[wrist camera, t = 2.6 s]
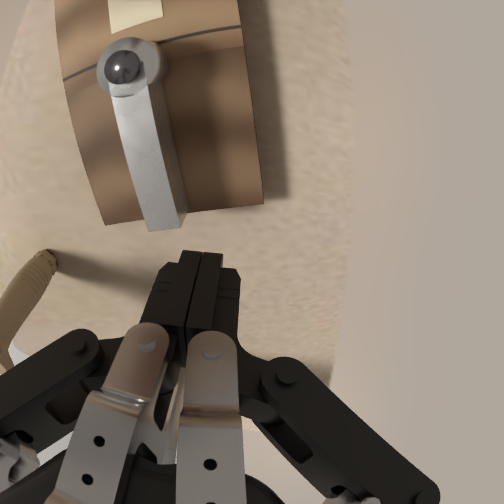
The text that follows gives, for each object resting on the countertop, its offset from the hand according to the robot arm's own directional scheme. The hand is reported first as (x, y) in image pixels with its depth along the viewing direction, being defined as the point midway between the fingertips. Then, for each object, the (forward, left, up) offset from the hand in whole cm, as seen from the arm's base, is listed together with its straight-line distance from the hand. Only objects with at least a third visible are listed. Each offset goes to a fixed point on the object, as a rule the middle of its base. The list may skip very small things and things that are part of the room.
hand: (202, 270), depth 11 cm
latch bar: (+4, +5, -11) cm, 13 cm away
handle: (-7, +24, -14) cm, 28 cm away
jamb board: (+9, +5, -13) cm, 17 cm away
